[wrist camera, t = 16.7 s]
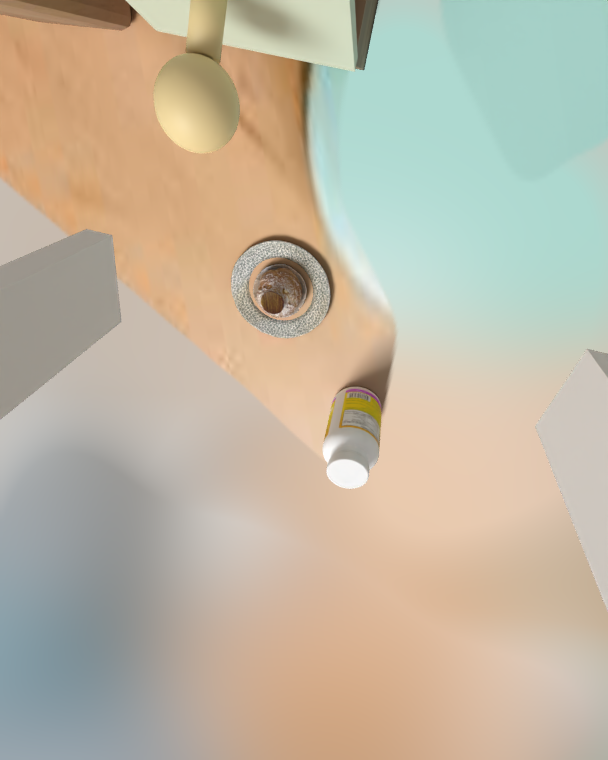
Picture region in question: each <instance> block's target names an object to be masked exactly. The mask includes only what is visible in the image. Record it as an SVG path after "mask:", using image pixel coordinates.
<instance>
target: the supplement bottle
mask: <svg viewBox="0 0 608 760" xmlns="http://www.w3.org/2000/svg"><path fill="white" fill-rule="evenodd" d="M380 427H381V403H380V400H379V398H378V397H377V396H376V395H375V394H374V393H373V392H371V391H370V390H368V389H366V388H362V387H348V388H345V389H343V390H341V391H340V392H339V393H337V395H336V396H335V397H334V399H333V402H332V406H331V411H330V415H329V420H328V425H327V429H326V434H325V438H324V443H323V455H324V458H325V460H326V462H327V463H328V465H327V476H328V478H329V479H330V480H331V481H332V482H333V483H334V484H336V485H338V486H340V487H343V488H358V487H361V486H362V485H364V484H365V483H366V482H367V480H368V477H369V470H370V469H371V468H372V467H373V466H374V465H375V464H376V462H377V460H378V457H379V445H380Z"/></svg>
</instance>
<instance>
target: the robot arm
mask: <svg viewBox="0 0 608 760" xmlns="http://www.w3.org/2000/svg"><path fill="white" fill-rule="evenodd" d="M120 322H121V313H120V304H119V294H118V285H117V275H116V266H115V256H114V247H113V238H112V235H109V234H105V233H101V232H96V231H92V230H88V229H86V230H83V231H81V232H79V233H76V234H74V235H72V236H69V237H67V238H65V239H63V240H60V241H58V242H56V243H53V244H51V245H49V246H46V247H44V248H42V249H39V250H37V251H35V252H32V253H30V254H28V255H25V256H23V257H21V258H18V259H16V260H14V261H11V262H9V263H7V264H4V265H2V266H0V419H2V418H3V417H4V416H5V415H7V414H8V413H9V412H10V411H12V410H13V409H14V408H15V407H17V406H18V405H19V404H20V403H21V402H23V401H24V400H25V399H26V398H28V396H30V395H31V394H33V393H34V392H35V391H36V390H38V389H39V388H40V387H41V386H42V385H44V384H45V383H46V382H47V381H48V380H50V379H51V378H52V377H54V376H55V375H56V374H57V373H59V372H60V371H61V370H62V369H63V368H65V367H66V366H67V365H68V364H70V363H71V362H72V361H73V360H74V359H76V358H77V357H78V356H80V355H81V354H82V353H83V352H84V351H86V350H87V349H88V348H89V347H91V346H92V345H93V344H94V343H96V342H97V341H98V340H99V339H101V338H102V337H103V336H104V335H105V334H107V333H108V332H109V331H111V330H112V329H113V328H114V327H115V326H117V325H118V324H119V323H120ZM535 428H536V430H537V433H538V435H539V438H540V440H541V443H542V445H543V448H544V450H545V453H546V456H547V458H548V460H549V463H550V466H551V468H552V471H553V473H554V476H555V478H556V481H557V484H558V486H559V489H560V491H561V494H562V496H563V499H564V501H565V504H566V507H567V509H568V512H569V514H570V517H571V519H572V522H573V524H574V527H575V530H576V532H577V535H578V537H579V540H580V542H581V545H582V547H583V550H584V552H585V555H586V558H587V560H588V563H589V565H590V568H591V570H592V573H593V575H594V578H595V581H596V583H597V586H598V588H599V591H600V593H601V596H602V599H603V601H604V603H605V606H606V609H607V611H608V354H606V353H602V352H598V351H594V350H589V349H587V350H586V351H585V353H584V354H583V356H582V357H581V359H580V360H579V362H578V363H577V365H576V366H575V368H574V369H573V370H572V372H571V373H570V375H569V377H568V378H567V379H566V381H565V382H564V384H563V385H562V387H561V389H560V390H559V391H558V393H557V394H556V396H555V397H554V399H553V400H552V402H551V403H550V405H549V406H548V408H547V409H546V411H545V412H544V414H543V415H542V417H541V418H540V420H539V421H538V423H537V424H536V426H535Z"/></svg>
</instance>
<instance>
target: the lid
mask: <svg viewBox="0 0 608 760" xmlns="http://www.w3.org/2000/svg"><path fill="white" fill-rule="evenodd" d="M126 1H127V2H128V3H129V4H130V5H131V6H132V7H133V8H134V9H135V10H136V11H137V12H138V13H139V14H140V15H141V16H142V17H143V18H144V19H145V20H146V21H147V22H148V23H149V24H150V25H151V26H152V27H153V28H154V29H155V30H156V31H160V32H164V33H169V34H174V35H179V36H184V37H187V42H186V53H187V54H181V55H178V56H176V57H174V58H172V59H171V60H169V61H168V62H167V63H166V64H165V65H164V66H163V67H162V69H161V71H160V72H159V74H158V76H157V78H156V82H155V85H154V95H153V99H154V108H155V112H156V115H157V118H158V121H159V123H160V125H161V127H162V128H163V130H164V131H165V133H166V134H167V135H168V137H169V138H170V139H171V140H172V141H173V142H175V143H176V144H177V145H178V146H180V147H182V148H183V149H185V150H188V151H190V152H194V153H202V154H203V153H211V152H214V151H217V150H219V149H220V148H222V147H223V146H225V145H226V144H227V143H228V142H229V141H230V140H231V138H232V137H233V135H234V133H235V131H236V129H237V126H238V121H239V115H240V104H239V98H238V94H237V91H236V88H235V86H234V83H233V82H232V80H231V78H230V77H229V75H228V74H227V72H226V71H225V70H224V69H223V68H222V67H221V66H220V65H219V63H220V59H221V51H222V44H223V45H228V46H232V47H237V48H242V49H247V50H252V51H257V52H261V53H266V54H271V55H276V56H281V57H286V58H291V59H295V60H300V61H305V62H310V63H315V64H320V65H325V66H329V67H334V68H339V69H344V70H349V71H355V68H356V64H357V59H358V53H357V34H356V14H355V0H126Z"/></svg>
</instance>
